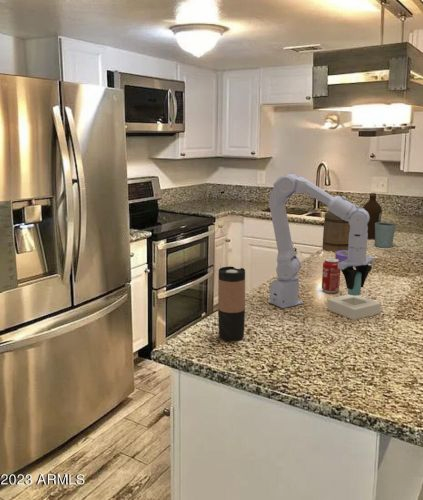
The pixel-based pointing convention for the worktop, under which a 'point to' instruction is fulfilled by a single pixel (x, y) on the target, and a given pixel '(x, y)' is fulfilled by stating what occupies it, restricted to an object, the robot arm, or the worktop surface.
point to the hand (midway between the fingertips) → (354, 287)
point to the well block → (354, 306)
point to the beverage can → (330, 275)
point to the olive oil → (373, 214)
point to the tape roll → (341, 255)
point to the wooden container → (335, 233)
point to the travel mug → (231, 303)
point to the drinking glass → (384, 234)
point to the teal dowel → (356, 285)
